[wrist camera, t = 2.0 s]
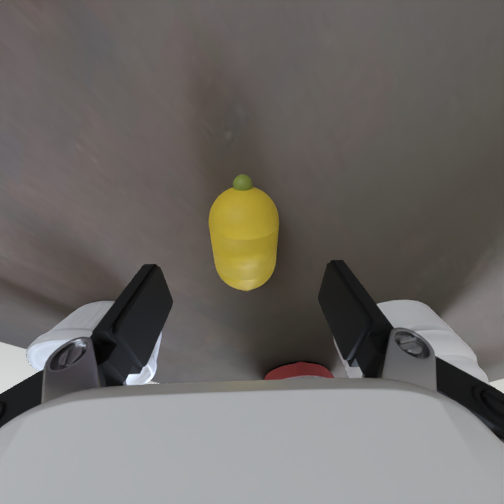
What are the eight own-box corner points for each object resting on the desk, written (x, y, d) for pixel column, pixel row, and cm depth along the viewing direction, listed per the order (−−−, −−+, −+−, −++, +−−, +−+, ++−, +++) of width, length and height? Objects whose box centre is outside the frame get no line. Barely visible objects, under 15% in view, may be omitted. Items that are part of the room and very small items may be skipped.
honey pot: (414, 348, 28) (602, 595, 13) (330, 358, 29) (417, 596, 14) (450, 292, 21) (954, 697, 6) (337, 307, 22) (527, 685, 7)
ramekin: (173, 348, 26) (159, 392, 22) (90, 344, 25) (57, 390, 21) (165, 296, 20) (142, 343, 16) (53, 287, 19) (-5, 335, 14)
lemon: (208, 167, 13) (192, 186, 9) (276, 166, 13) (290, 184, 9) (222, 271, 18) (216, 311, 14) (270, 270, 18) (276, 310, 14)
